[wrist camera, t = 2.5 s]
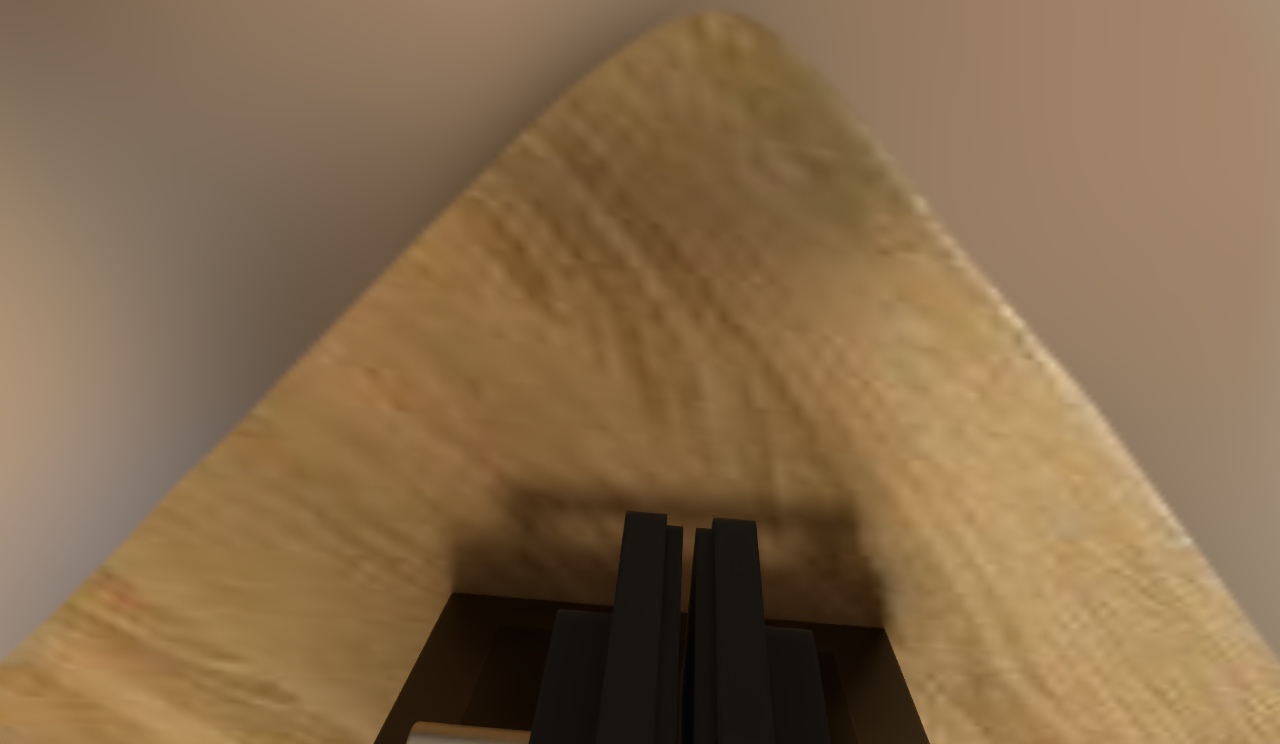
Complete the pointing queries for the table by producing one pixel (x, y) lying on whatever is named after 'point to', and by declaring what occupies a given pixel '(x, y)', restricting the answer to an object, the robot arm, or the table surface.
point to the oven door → (522, 628)
